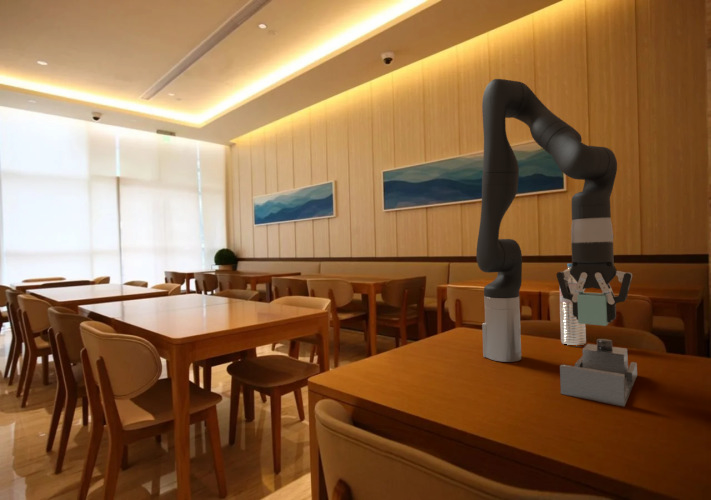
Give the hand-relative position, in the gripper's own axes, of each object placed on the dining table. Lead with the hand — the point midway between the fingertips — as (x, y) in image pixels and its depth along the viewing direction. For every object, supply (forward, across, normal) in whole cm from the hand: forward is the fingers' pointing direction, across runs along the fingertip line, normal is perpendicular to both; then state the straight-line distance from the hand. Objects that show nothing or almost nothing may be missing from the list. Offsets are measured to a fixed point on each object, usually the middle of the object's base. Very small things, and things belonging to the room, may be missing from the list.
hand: (594, 320), depth 81 cm
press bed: (+15, 0, +5) cm, 16 cm away
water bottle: (+15, -12, +39) cm, 44 cm away
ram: (+13, 0, +11) cm, 17 cm away
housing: (0, 0, 0) cm, 0 cm away
